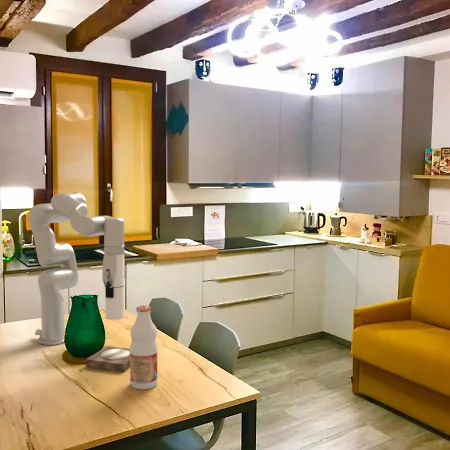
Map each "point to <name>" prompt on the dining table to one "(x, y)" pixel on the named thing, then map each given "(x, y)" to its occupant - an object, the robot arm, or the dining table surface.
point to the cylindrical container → (117, 292)
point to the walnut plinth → (110, 359)
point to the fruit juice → (143, 351)
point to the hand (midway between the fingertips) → (114, 295)
